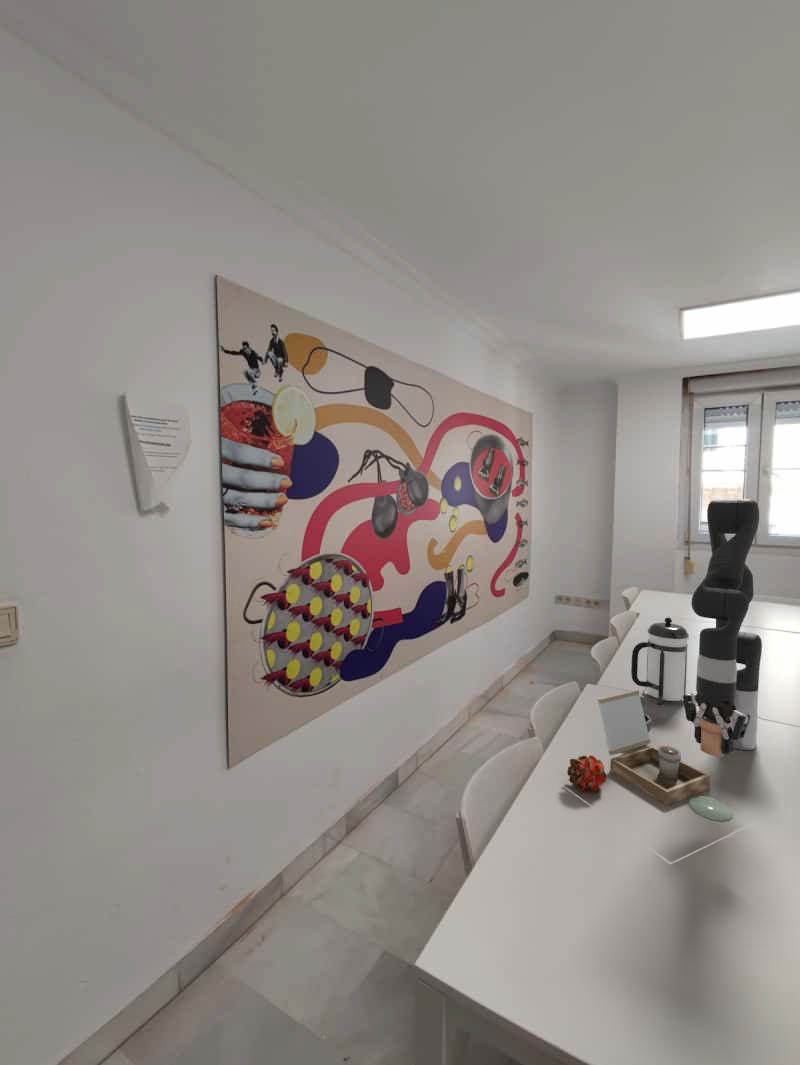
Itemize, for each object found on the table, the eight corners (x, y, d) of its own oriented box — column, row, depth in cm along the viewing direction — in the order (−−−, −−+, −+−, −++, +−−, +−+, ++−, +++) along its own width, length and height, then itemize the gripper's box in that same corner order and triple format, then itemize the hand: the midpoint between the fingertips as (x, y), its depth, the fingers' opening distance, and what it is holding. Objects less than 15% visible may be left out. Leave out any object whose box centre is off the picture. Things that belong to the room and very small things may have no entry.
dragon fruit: (570, 802, 115) (593, 789, 124) (600, 794, 111) (622, 781, 119) (554, 765, 119) (577, 755, 128) (582, 755, 115) (604, 746, 123)
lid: (650, 742, 132) (648, 742, 133) (638, 690, 135) (636, 690, 136) (611, 755, 126) (609, 754, 126) (600, 699, 129) (597, 699, 130)
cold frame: (630, 747, 139) (632, 705, 138) (709, 789, 118) (711, 741, 118) (590, 759, 132) (591, 716, 131) (667, 806, 111) (669, 755, 111)
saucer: (703, 795, 116) (703, 792, 116) (740, 815, 108) (740, 812, 108) (680, 804, 112) (681, 801, 112) (717, 826, 105) (717, 823, 105)
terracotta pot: (707, 742, 113) (709, 712, 113) (733, 754, 108) (735, 722, 108) (692, 748, 111) (693, 717, 110) (717, 760, 106) (719, 727, 105)
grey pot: (665, 768, 127) (666, 743, 127) (684, 778, 123) (685, 752, 122) (652, 772, 125) (653, 747, 125) (671, 783, 120) (672, 757, 120)
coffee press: (648, 687, 184) (650, 610, 182) (695, 699, 172) (698, 617, 170) (629, 699, 172) (632, 617, 170) (678, 714, 161) (682, 626, 159)
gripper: (760, 683, 104) (756, 759, 105) (695, 663, 117) (692, 731, 118) (740, 689, 100) (736, 767, 101) (675, 667, 113) (672, 737, 114)
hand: (712, 747), depth 110 cm, fingers closed on terracotta pot, 5 cm apart
